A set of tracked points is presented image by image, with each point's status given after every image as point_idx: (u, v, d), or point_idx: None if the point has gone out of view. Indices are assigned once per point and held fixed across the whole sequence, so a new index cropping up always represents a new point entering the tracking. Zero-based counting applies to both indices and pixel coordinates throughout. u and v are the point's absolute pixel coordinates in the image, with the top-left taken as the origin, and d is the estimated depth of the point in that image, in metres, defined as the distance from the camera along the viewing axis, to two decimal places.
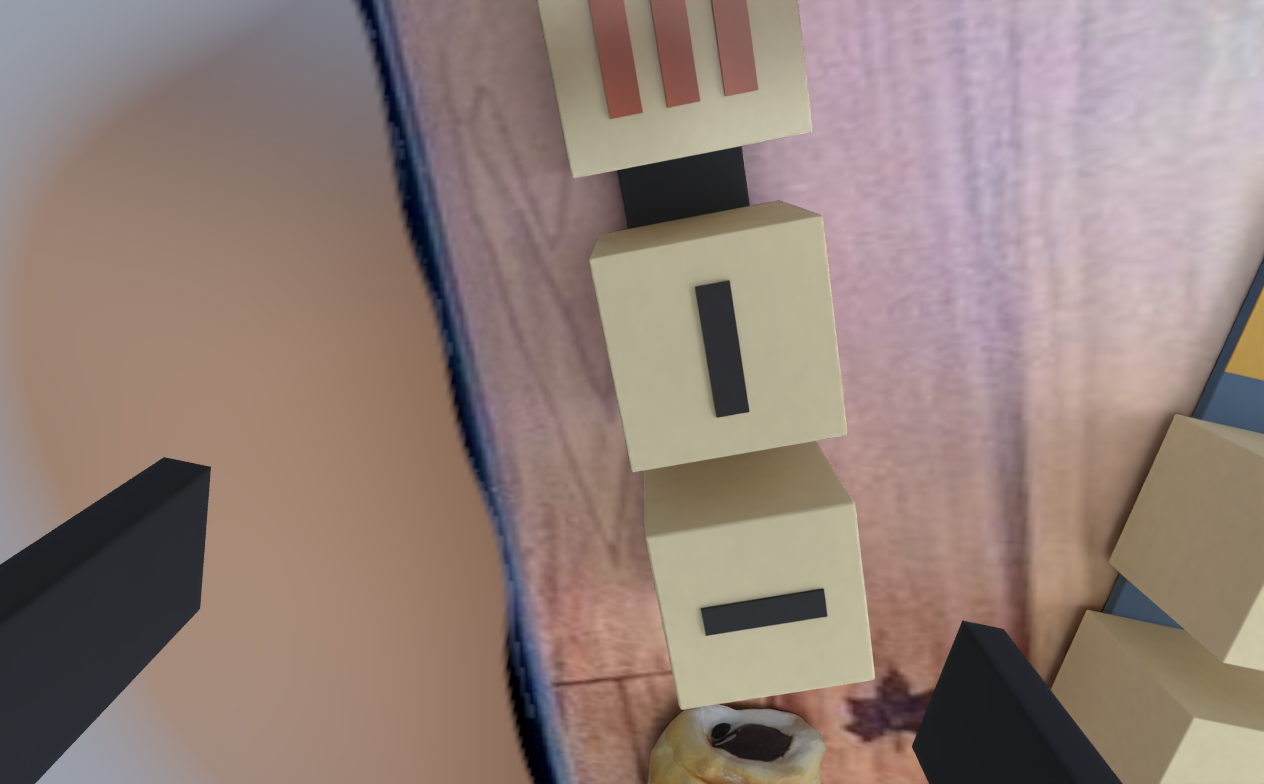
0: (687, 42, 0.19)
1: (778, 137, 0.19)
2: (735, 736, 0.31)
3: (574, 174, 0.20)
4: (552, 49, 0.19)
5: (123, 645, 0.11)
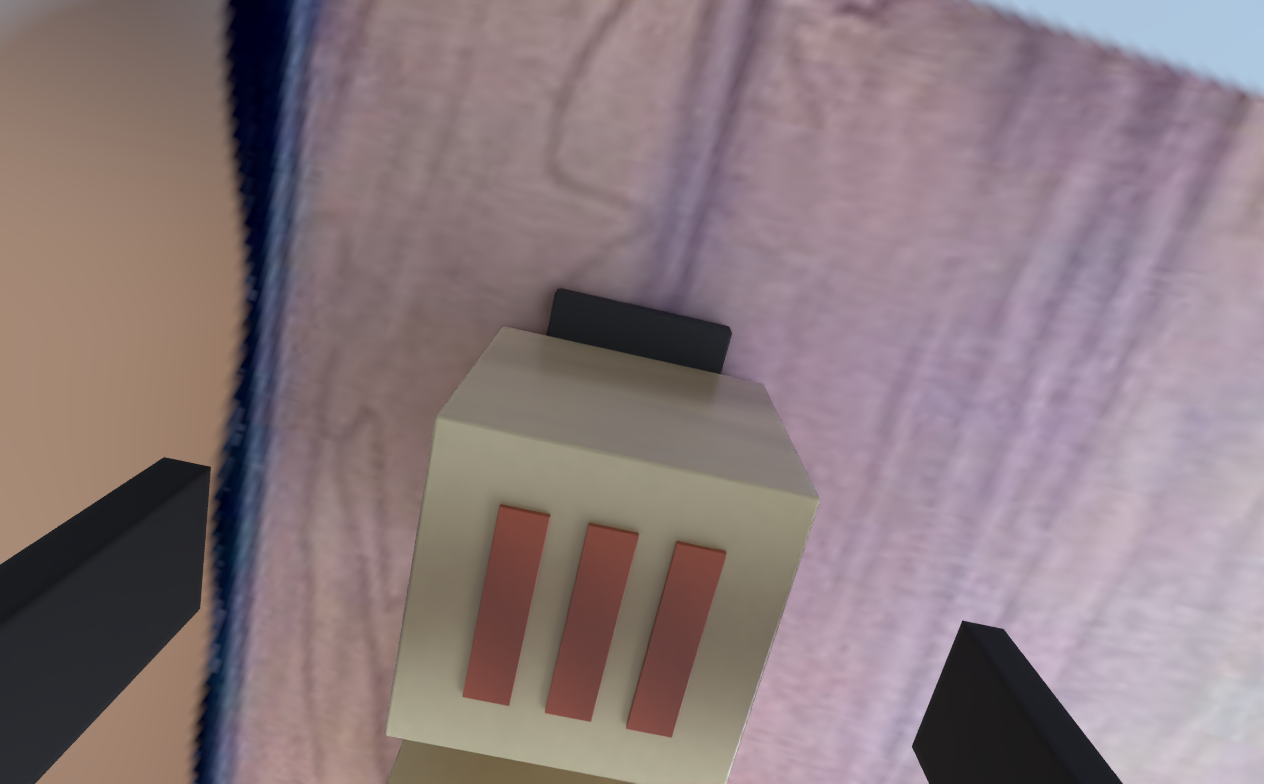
0: (604, 651, 0.13)
1: None
2: None
3: (388, 734, 0.14)
4: (416, 590, 0.13)
5: (123, 645, 0.11)
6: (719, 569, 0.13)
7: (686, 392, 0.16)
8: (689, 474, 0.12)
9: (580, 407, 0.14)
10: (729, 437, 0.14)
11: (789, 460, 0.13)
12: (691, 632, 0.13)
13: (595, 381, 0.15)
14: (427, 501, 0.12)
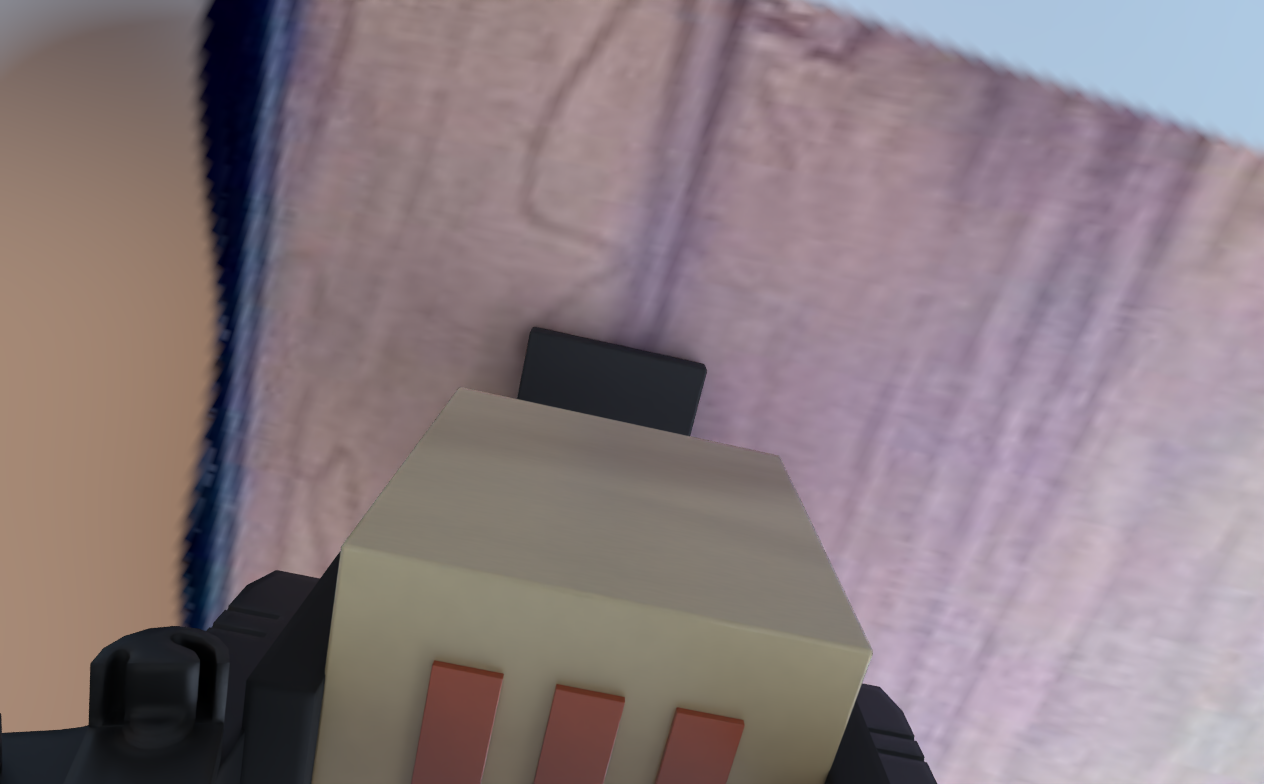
0: None
1: None
2: None
3: None
4: (323, 771, 0.09)
5: None
6: (735, 743, 0.09)
7: (687, 475, 0.13)
8: (694, 621, 0.09)
9: (548, 511, 0.10)
10: (745, 549, 0.11)
11: (824, 583, 0.10)
12: None
13: (570, 466, 0.12)
14: (333, 657, 0.09)
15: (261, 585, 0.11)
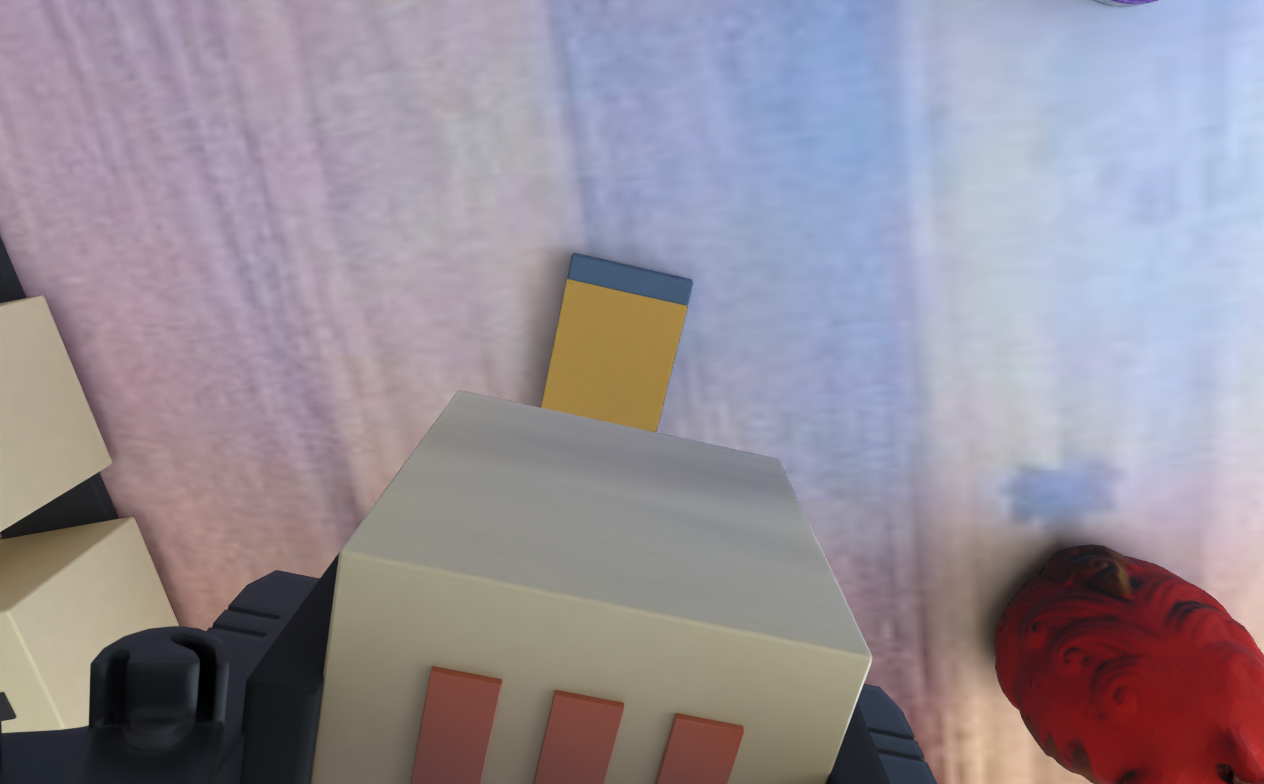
0: None
1: None
2: None
3: None
4: (321, 777, 0.09)
5: None
6: (734, 749, 0.09)
7: (686, 479, 0.13)
8: (693, 628, 0.09)
9: (546, 516, 0.10)
10: (743, 553, 0.11)
11: (824, 588, 0.10)
12: None
13: (569, 470, 0.12)
14: (332, 662, 0.09)
15: (261, 584, 0.11)
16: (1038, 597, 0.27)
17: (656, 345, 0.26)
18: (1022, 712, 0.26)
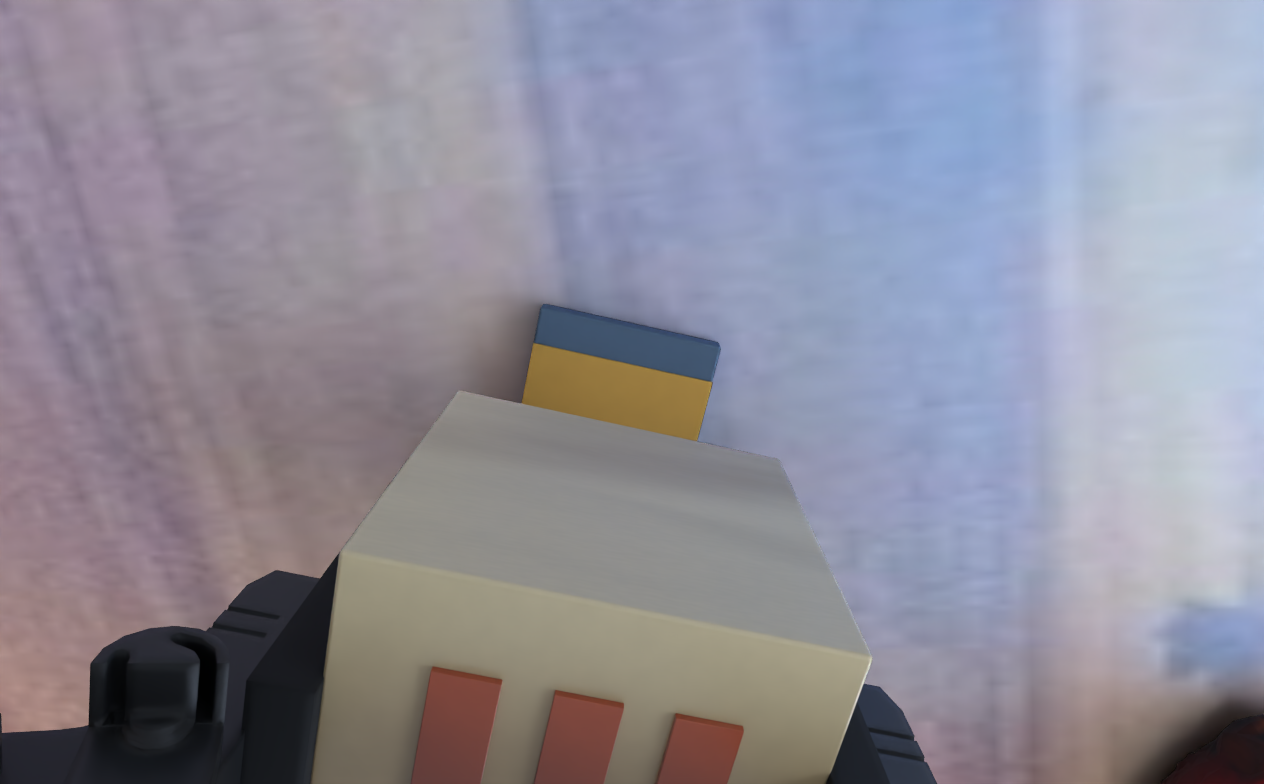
0: None
1: None
2: None
3: None
4: (321, 777, 0.09)
5: None
6: (734, 749, 0.09)
7: (686, 479, 0.13)
8: (693, 628, 0.09)
9: (547, 516, 0.10)
10: (744, 553, 0.11)
11: (824, 588, 0.10)
12: None
13: (570, 470, 0.12)
14: (332, 663, 0.09)
15: (261, 584, 0.11)
16: None
17: None
18: None
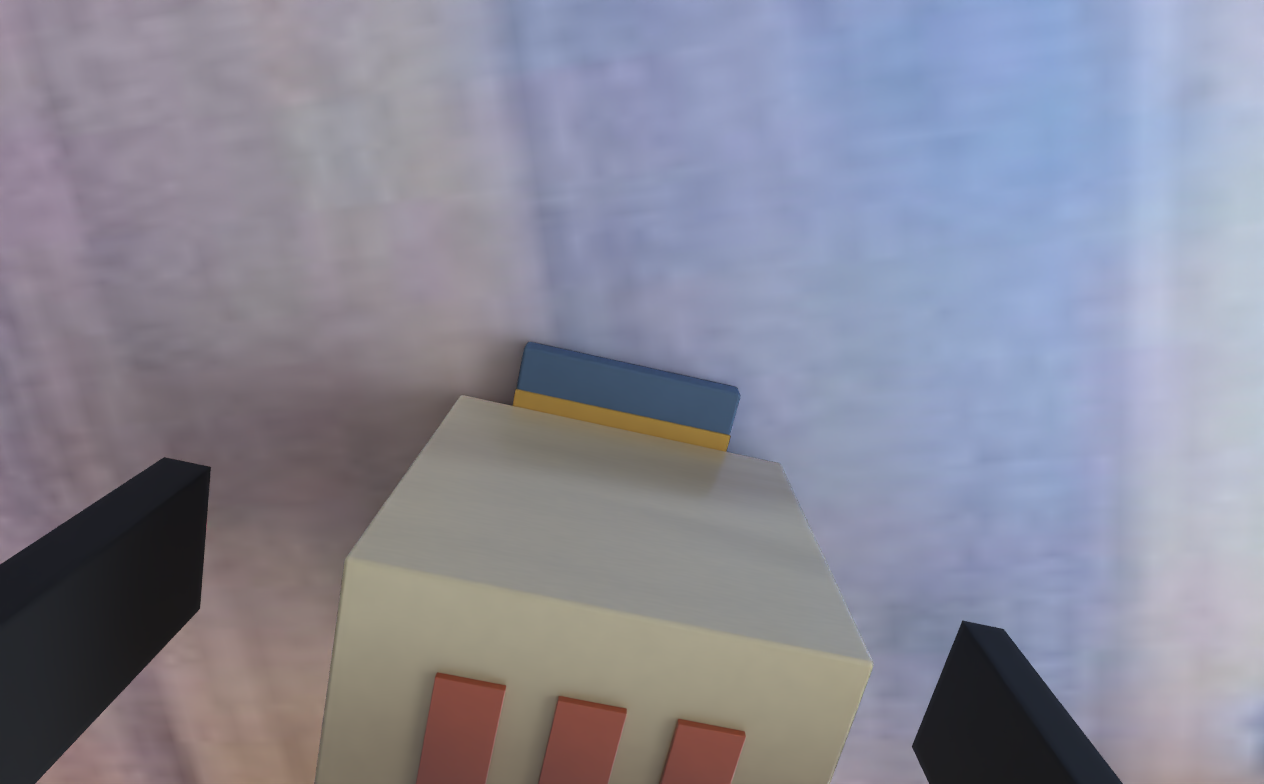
0: None
1: None
2: None
3: None
4: (326, 782, 0.09)
5: (123, 645, 0.11)
6: (736, 754, 0.09)
7: (688, 484, 0.13)
8: (695, 633, 0.09)
9: (549, 523, 0.10)
10: (745, 560, 0.11)
11: (825, 593, 0.10)
12: None
13: (572, 476, 0.12)
14: (337, 669, 0.09)
15: None
16: None
17: None
18: None
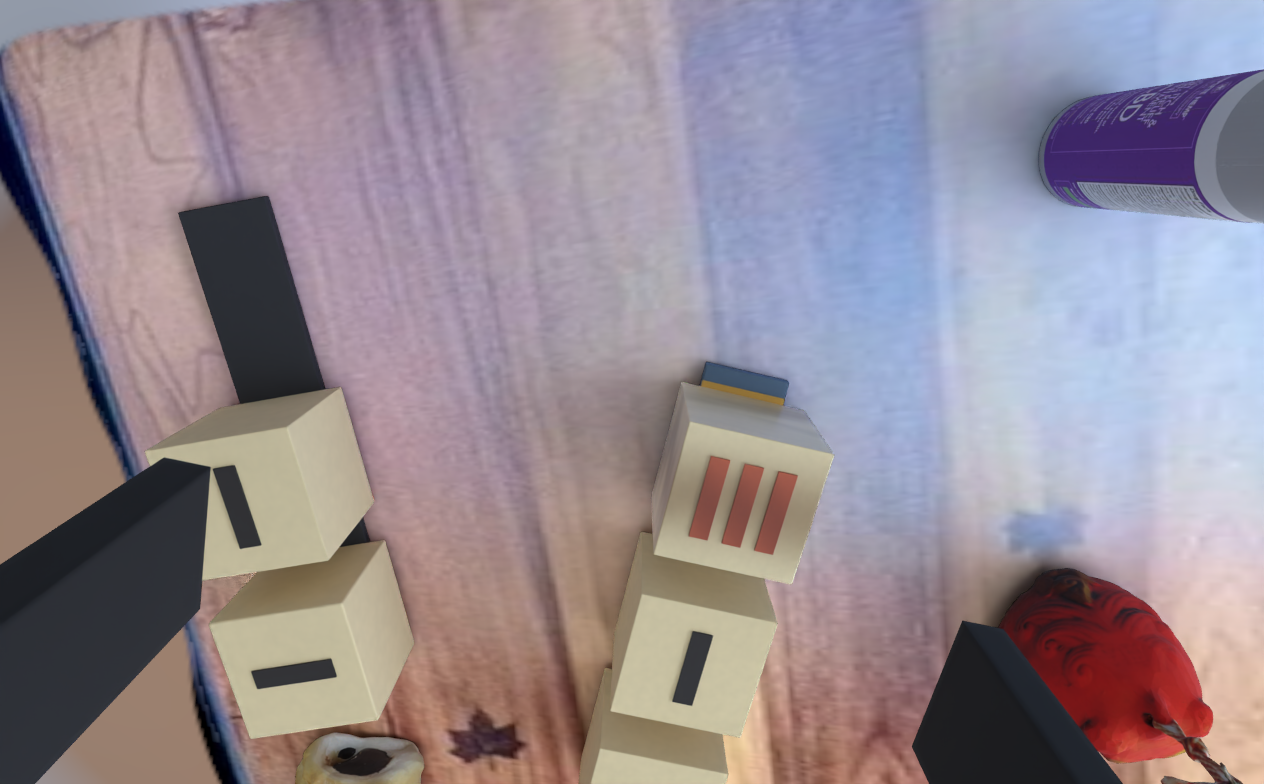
0: (746, 517, 0.32)
1: None
2: (355, 757, 0.42)
3: (655, 553, 0.33)
4: (674, 490, 0.32)
5: (123, 645, 0.11)
6: (794, 482, 0.32)
7: (772, 413, 0.35)
8: (784, 444, 0.31)
9: (734, 419, 0.33)
10: (795, 432, 0.33)
11: (821, 441, 0.33)
12: (783, 508, 0.32)
13: (734, 408, 0.35)
14: (682, 454, 0.32)
15: None
16: (1028, 604, 0.38)
17: None
18: None
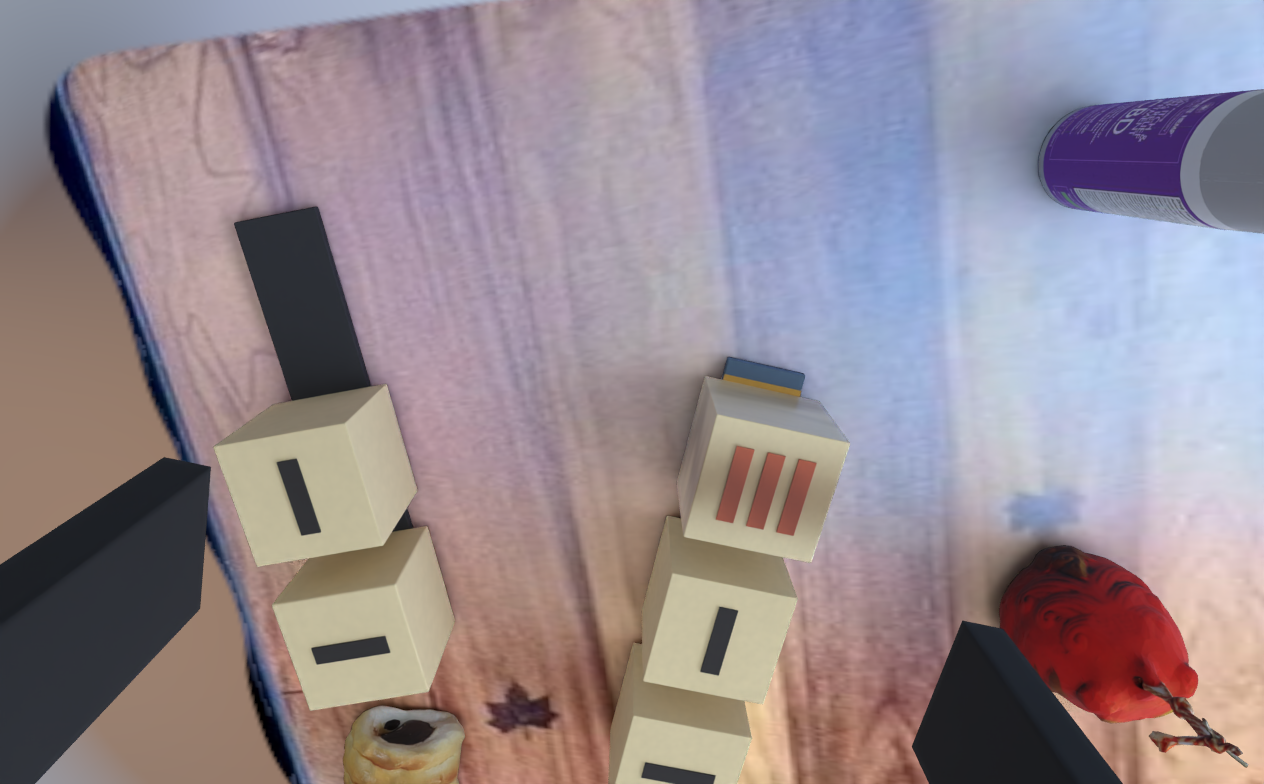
0: (769, 501, 0.35)
1: (793, 559, 0.36)
2: (400, 728, 0.45)
3: (685, 536, 0.36)
4: (702, 478, 0.35)
5: (123, 645, 0.11)
6: (814, 469, 0.35)
7: (790, 404, 0.38)
8: (804, 434, 0.34)
9: (757, 411, 0.36)
10: (813, 422, 0.36)
11: (837, 431, 0.36)
12: (803, 493, 0.35)
13: (756, 400, 0.37)
14: (710, 444, 0.34)
15: None
16: (1028, 579, 0.41)
17: None
18: None
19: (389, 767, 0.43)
